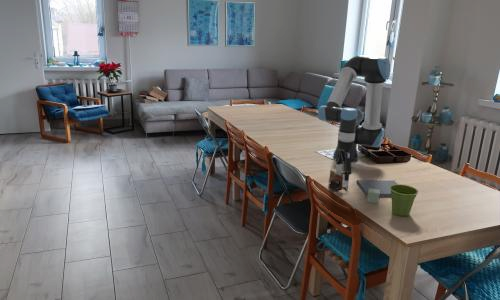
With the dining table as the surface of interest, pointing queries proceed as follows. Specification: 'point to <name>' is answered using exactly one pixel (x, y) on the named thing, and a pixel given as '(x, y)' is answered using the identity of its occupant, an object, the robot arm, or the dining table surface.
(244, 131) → the dining table surface
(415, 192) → the plant pot
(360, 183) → the slate mat
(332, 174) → the walnut block
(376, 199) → the sage block
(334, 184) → the pottery mug
